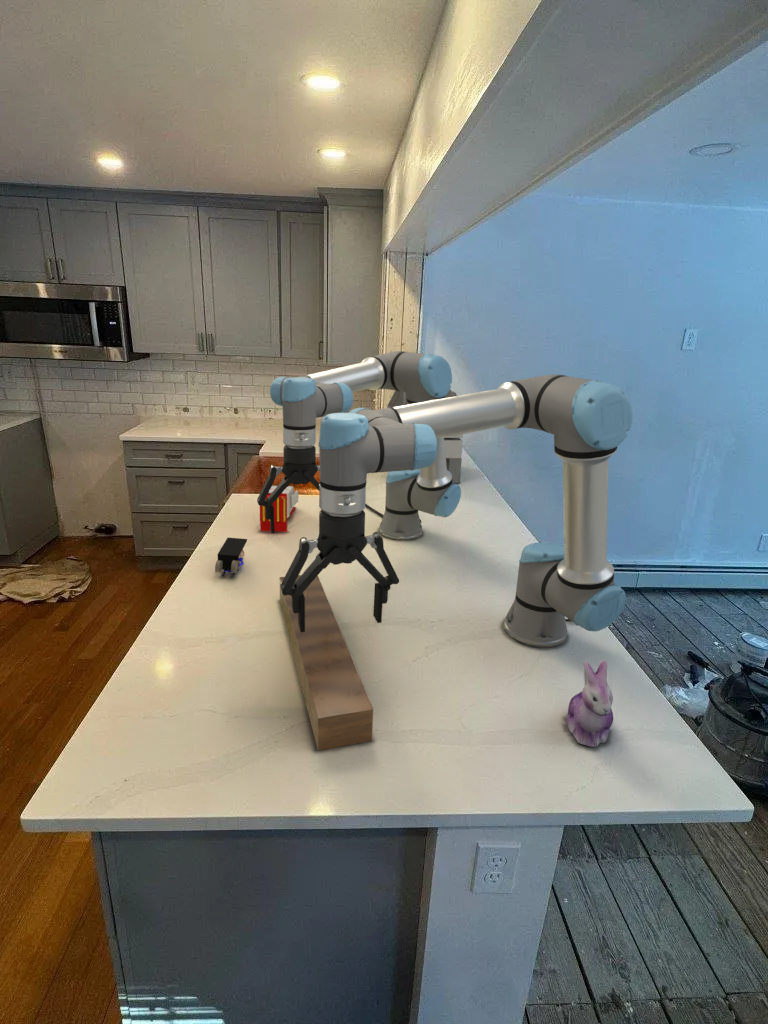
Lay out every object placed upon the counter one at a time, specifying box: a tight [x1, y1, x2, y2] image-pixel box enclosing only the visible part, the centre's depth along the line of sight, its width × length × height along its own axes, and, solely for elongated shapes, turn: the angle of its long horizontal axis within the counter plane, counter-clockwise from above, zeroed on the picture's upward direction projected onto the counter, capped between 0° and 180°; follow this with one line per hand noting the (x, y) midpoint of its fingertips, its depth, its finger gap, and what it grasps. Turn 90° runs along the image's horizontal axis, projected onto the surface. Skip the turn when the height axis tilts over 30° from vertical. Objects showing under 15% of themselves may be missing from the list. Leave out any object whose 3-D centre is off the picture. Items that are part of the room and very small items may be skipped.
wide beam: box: [278, 574, 374, 752], centre depth 126 cm, size 56×10×7 cm, turn 17°
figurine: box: [566, 660, 614, 748], centre depth 106 cm, size 9×10×15 cm
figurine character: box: [214, 537, 248, 578], centre depth 166 cm, size 7×8×15 cm
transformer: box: [386, 389, 464, 484], centre depth 268 cm, size 34×33×41 cm
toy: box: [259, 485, 299, 533], centre depth 208 cm, size 12×13×30 cm
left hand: (300, 529), depth 140 cm, fingers open, 13 cm apart
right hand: (340, 623), depth 100 cm, fingers open, 13 cm apart
